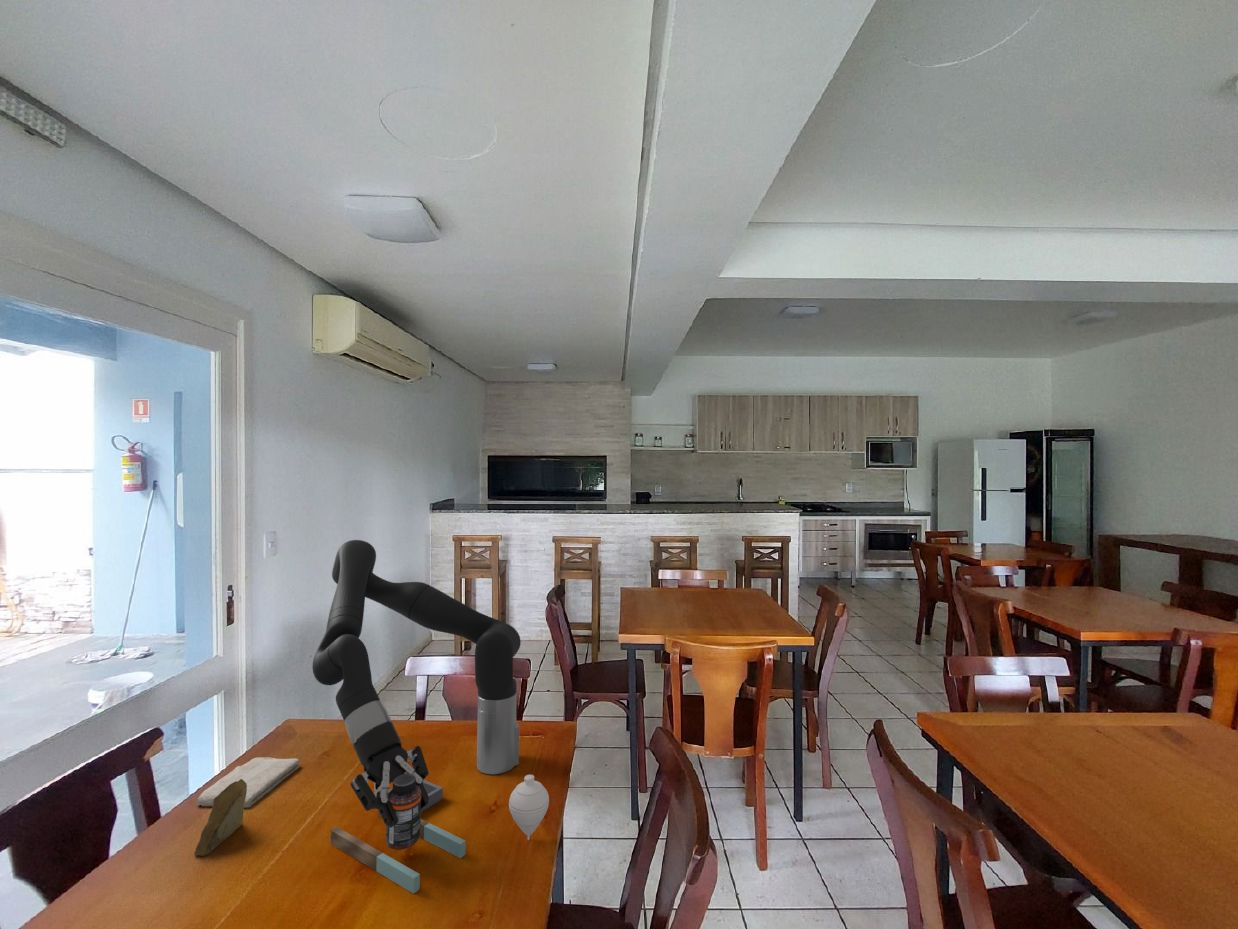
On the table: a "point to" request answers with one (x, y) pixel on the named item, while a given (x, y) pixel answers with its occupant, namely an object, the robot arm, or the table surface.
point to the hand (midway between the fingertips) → (409, 815)
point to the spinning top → (528, 804)
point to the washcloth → (252, 779)
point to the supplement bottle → (404, 813)
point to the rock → (223, 817)
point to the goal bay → (407, 875)
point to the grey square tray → (431, 794)
